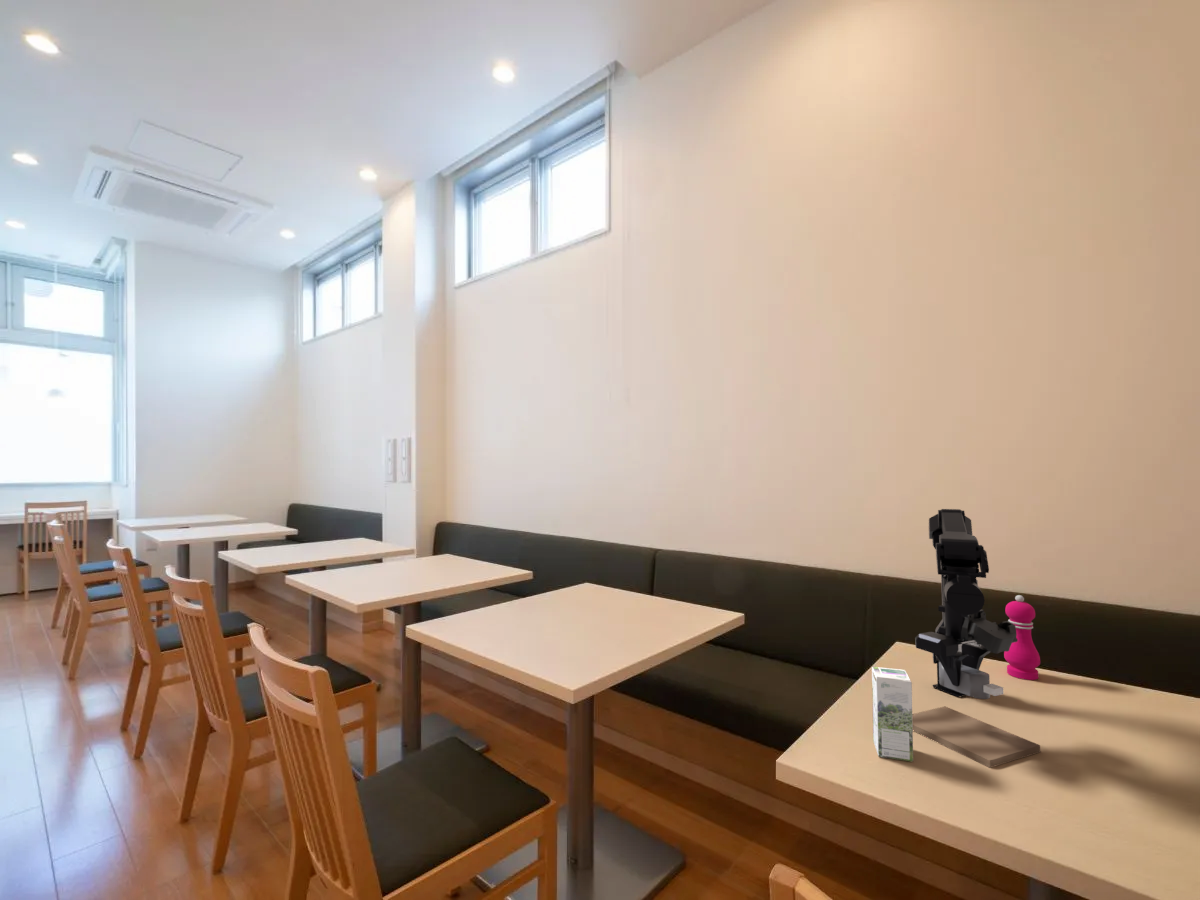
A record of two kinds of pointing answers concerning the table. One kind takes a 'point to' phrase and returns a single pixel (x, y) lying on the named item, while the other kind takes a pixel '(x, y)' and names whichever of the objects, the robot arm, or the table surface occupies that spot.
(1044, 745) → the table surface
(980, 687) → the charcoal usb stick
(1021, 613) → the pepper mill
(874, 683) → the syrup box
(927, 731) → the walnut board
